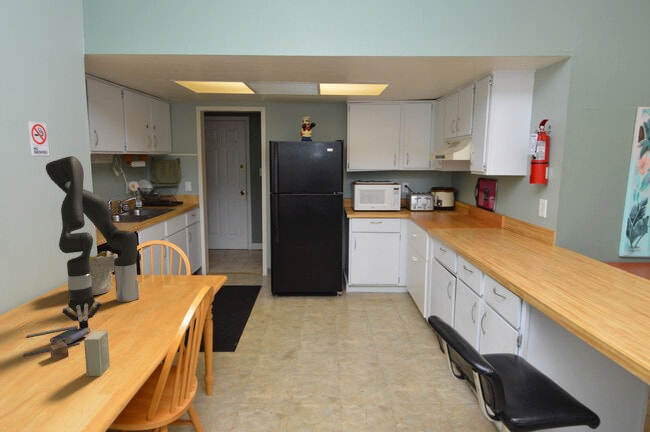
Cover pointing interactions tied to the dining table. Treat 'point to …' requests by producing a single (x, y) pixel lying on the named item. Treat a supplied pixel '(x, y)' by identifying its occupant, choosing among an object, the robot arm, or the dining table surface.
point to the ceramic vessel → (102, 271)
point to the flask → (70, 335)
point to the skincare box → (97, 353)
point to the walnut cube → (59, 351)
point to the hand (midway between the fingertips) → (84, 329)
